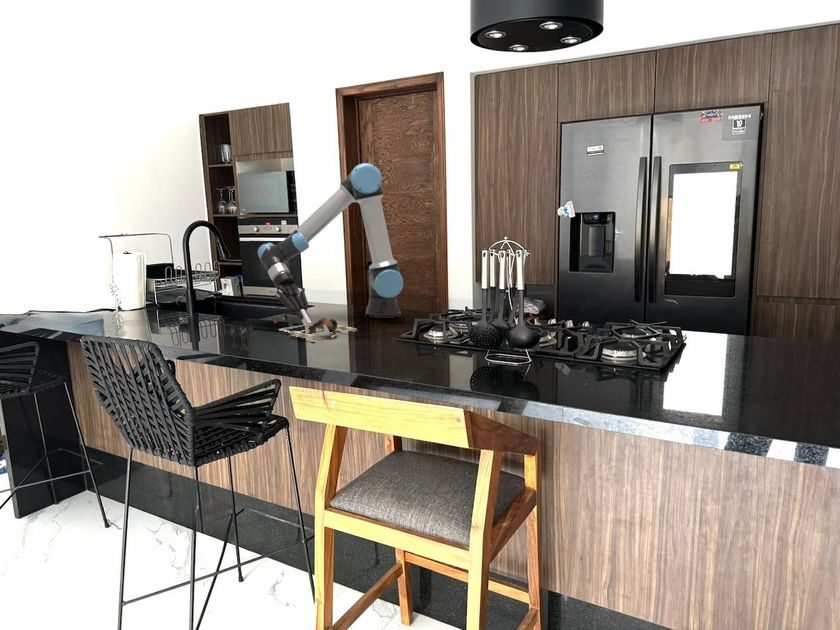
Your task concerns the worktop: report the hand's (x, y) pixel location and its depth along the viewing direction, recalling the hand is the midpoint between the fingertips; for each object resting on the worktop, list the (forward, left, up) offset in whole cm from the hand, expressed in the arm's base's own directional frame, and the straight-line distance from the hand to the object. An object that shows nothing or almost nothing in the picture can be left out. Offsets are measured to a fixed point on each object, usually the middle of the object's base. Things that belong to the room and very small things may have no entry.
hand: (308, 324), depth 231 cm
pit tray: (0, -5, -3) cm, 6 cm away
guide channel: (-2, +8, -3) cm, 9 cm away
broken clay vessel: (-2, +9, -4) cm, 10 cm away
